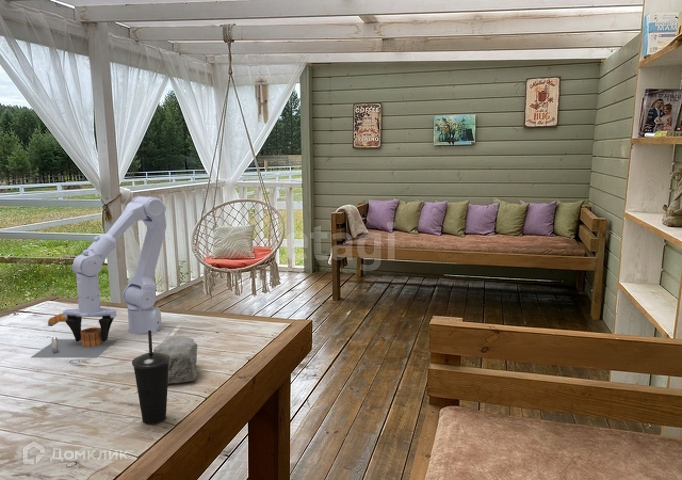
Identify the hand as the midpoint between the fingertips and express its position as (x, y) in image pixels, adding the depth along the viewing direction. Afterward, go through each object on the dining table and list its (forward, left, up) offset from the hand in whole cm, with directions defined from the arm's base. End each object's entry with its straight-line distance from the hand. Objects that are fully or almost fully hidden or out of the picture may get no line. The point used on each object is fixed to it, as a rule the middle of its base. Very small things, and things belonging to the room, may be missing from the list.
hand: (91, 340), depth 150 cm
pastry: (+20, -24, -3) cm, 31 cm away
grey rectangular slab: (+3, +3, -2) cm, 5 cm away
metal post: (+7, +7, -1) cm, 10 cm away
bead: (0, 0, -1) cm, 1 cm away
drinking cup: (-32, +41, -3) cm, 52 cm away
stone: (-30, +19, -3) cm, 36 cm away
